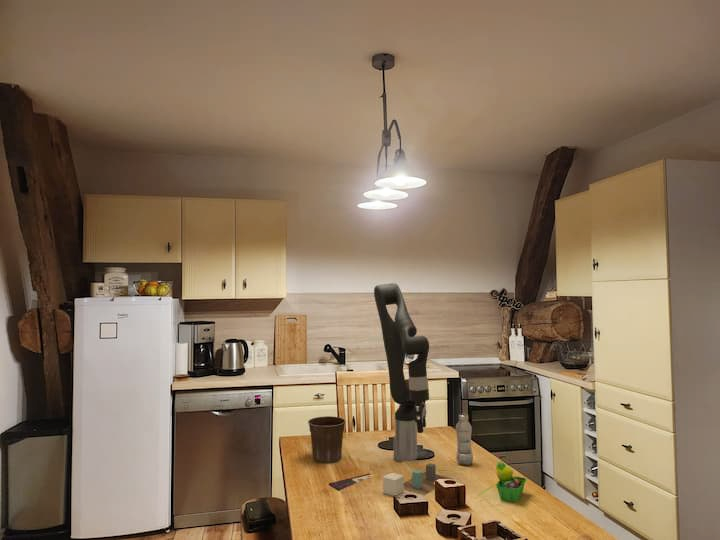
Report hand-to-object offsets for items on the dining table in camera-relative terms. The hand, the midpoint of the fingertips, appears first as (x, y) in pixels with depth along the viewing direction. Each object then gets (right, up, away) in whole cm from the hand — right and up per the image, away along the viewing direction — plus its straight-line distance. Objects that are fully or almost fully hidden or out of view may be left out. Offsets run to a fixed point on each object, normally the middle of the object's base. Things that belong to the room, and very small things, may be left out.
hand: (421, 429), depth 198 cm
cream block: (-12, -17, -20) cm, 29 cm away
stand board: (0, -17, -12) cm, 21 cm away
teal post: (-3, -15, -16) cm, 23 cm away
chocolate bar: (-25, -18, -8) cm, 32 cm away
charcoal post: (+2, -16, -9) cm, 18 cm away
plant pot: (-38, -19, +21) cm, 47 cm away
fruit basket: (+28, -16, -22) cm, 39 cm away
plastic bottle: (+19, -18, +11) cm, 28 cm away
